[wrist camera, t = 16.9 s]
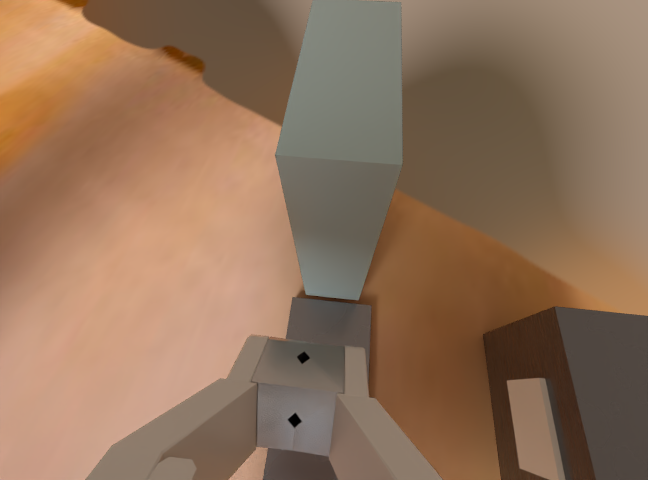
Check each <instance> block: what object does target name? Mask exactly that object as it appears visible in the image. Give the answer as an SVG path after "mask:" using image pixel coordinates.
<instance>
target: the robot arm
mask: <svg viewBox="0 0 648 480" xmlns="http://www.w3.org/2000/svg"><path fill="white" fill-rule="evenodd" d="M256 447H264V448H273V449H283V450H293V451H298V452H304V453H310V454H316V455H322V456H328V457H329V460H330V462H331V465H332V467H333V469H334V471H335V474H336V476H337V478H338V480H443V479H442V478H441V477H440V475H439V474H438V473H437V472H436V471H435V469H434V468H433V467H432V466H431V465H430V463H429V462H428V461H427V460H426V459H425V457H424V456H423V455H422V454H421V453H420V451H419V450H418V449H417V448H416V447H415V445H414V444H413V443H412V442H411V440H410V439H409V438H408V437H407V436H406V434H405V433H404V432H403V431H402V430H401V428H400V427H399V426H398V425H397V424H396V422H395V421H394V420H393V419H392V418H391V416H390V415H389V414H388V413H387V412H386V410H385V409H384V408H383V407H382V406H381V404H380V403H379V402H378V401H377V399H376V398H371V397H369V390H368V378H367V367H366V355H365V349H364V348H363V347H352V346H345V347H344V346H335V345H327V344H318V343H309V342H304V341H297V340H290V339H283V338H276V337H268V336H261V335H253V334H251V335H250V336H249V337H248V338H247V340H246V342H245V344H244V346H243V348H242V350H241V352H240V354H239V356H238V357H237V359H236V361H235V363H234V365H233V367H232V369H231V371H230V373H229V375H228V377H227V379H221V378H220V379H219V380H217V381H215V382H214V383H212V384H211V385H209V386H207V387H206V388H204V389H202V390H201V391H199V392H198V393H196V394H194V395H193V396H191V397H190V398H188V399H186V400H185V401H183V402H182V403H180V404H178V405H177V406H175V407H173V408H172V409H170V410H169V411H167V412H165V413H164V414H162V415H161V416H159V417H157V418H156V419H154V420H153V421H151V422H149V423H148V424H146V425H145V426H143V427H141V428H140V429H138V430H136V431H135V432H133V433H132V434H130V435H128V436H127V437H125V438H124V439H122V440H120V441H119V442H117V443H116V444H114V445H112V446H111V447H110V449H109V450H108V451H107V453H106V454H105V455H104V456H103V458H102V459H101V460H100V462H99V463H98V464H97V465H96V467H95V468H94V469H93V471H92V472H91V473H90V474H89V476H88V477H87V478H86V479H85V480H228V479H229V478H230V477H231V476H232V475H233V474H234V473H235V472H236V470H237V469H238V468H239V467H240V466H241V465H242V464H243V463H244V462H245V460H246V459H247V458H248V457H249V456H250V455H251V454H252V453H253V452H254V451H255V449H256Z"/></svg>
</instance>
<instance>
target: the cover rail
mask: <svg viewBox="0 0 648 480" xmlns="http://www.w3.org/2000/svg"><path fill="white" fill-rule="evenodd" d="M370 331H371V305H362V304H353V303H343V302H334V301H324V300H315V299H306V298H296V297H293V298H292V304H291V310H290V316H289V323H288V329H287V335H286V339H290V340H297V341H304V342H309V343H318V344H327V345H335V346H344V347H345V346H352V347H363V348H364V349H365V355H366V367H367V378H368V380H369V356H370ZM263 480H338V478H337V476H336V474H335V471H334V469H333V467H332V465H331V462H330V460H329V457H328V456H322V455H316V454H310V453H304V452H298V451H293V450H283V449H273V448H268V452H267V458H266V464H265V470H264V476H263Z"/></svg>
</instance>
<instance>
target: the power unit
mask: <svg viewBox="0 0 648 480" xmlns="http://www.w3.org/2000/svg"><path fill="white" fill-rule="evenodd" d="M483 337H484V345H485V353H486V361H487V369H488V377H489V385H490V393H491V401H492V409H493V417H494V425H495V433H496V441H497V449H498V457H499V465H500V473H501V480H648V316H642V315H633V314H623V313H613V312H604V311H594V310H584V309H574V308H565V307H552V308H549V309H547V310H544V311H542V312H539V313H537V314H534V315H531V316H529V317H526V318H524V319H521V320H519V321H516V322H513V323H511V324H508V325H506V326H503V327H501V328H498V329H495V330H493V331H490V332H488V333H485V334H483Z"/></svg>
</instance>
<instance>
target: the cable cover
mask: <svg viewBox="0 0 648 480" xmlns="http://www.w3.org/2000/svg"><path fill="white" fill-rule="evenodd" d="M401 36H402V29H401V2H383V1H359V0H313V2H312V6H311V10H310V14H309V18H308V22H307V26H306V31H305V35H304V39H303V43H302V47H301V51H300V55H299V59H298V64H297V67H296V72H295V76H294V80H293V84H292V88H291V92H290V96H289V100H288V104H287V109H286V113H285V117H284V121H283V125H282V129H281V133H280V137H279V142H278V146H277V150H276V154H275V156H276V161H277V166H278V170H279V175H280V179H281V184H282V188H283V193H284V197H285V202H286V207H287V211H288V216H289V220H290V225H291V229H292V234H293V238H294V243H295V248H296V252H297V257H298V261H299V266H300V270H301V275H302V279H303V284H304V289H305V293H306V295H313V296H322V297H332V298H341V299H350V300H359V298H360V295H361V292H362V288H363V285H364V282H365V279H366V276H367V273H368V270H369V267H370V264H371V261H372V258H373V255H374V252H375V249H376V246H377V243H378V239H379V236H380V233H381V230H382V227H383V224H384V221H385V218H386V215H387V212H388V209H389V206H390V203H391V200H392V197H393V193H394V190H395V187H396V184H397V181H398V178H399V175H400V172H401V169H402V166H403V137H402V136H403V134H402V37H401Z"/></svg>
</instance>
